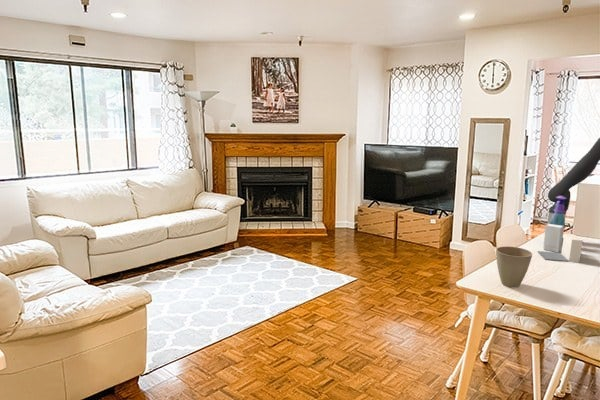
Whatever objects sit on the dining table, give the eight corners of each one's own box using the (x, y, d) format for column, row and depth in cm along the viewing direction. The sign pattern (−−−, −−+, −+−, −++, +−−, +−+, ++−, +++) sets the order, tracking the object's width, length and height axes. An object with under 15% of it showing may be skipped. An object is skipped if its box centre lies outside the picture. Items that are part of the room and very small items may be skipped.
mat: (537, 252, 253) (537, 251, 253) (559, 253, 251) (559, 252, 251) (545, 259, 240) (545, 258, 240) (568, 261, 238) (568, 260, 237)
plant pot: (497, 276, 215) (501, 244, 211) (531, 284, 205) (536, 250, 202) (488, 285, 203) (491, 251, 200) (523, 293, 194) (527, 258, 191)
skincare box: (561, 251, 256) (565, 225, 253) (558, 253, 252) (561, 227, 249) (545, 247, 262) (549, 223, 259) (542, 249, 258) (545, 224, 255)
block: (561, 254, 250) (564, 233, 248) (571, 255, 249) (574, 234, 246) (568, 261, 238) (572, 239, 236) (579, 262, 237) (582, 240, 235)
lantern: (549, 240, 276) (555, 193, 270) (569, 245, 267) (576, 196, 261) (539, 244, 268) (546, 195, 262) (560, 249, 259) (567, 198, 253)
